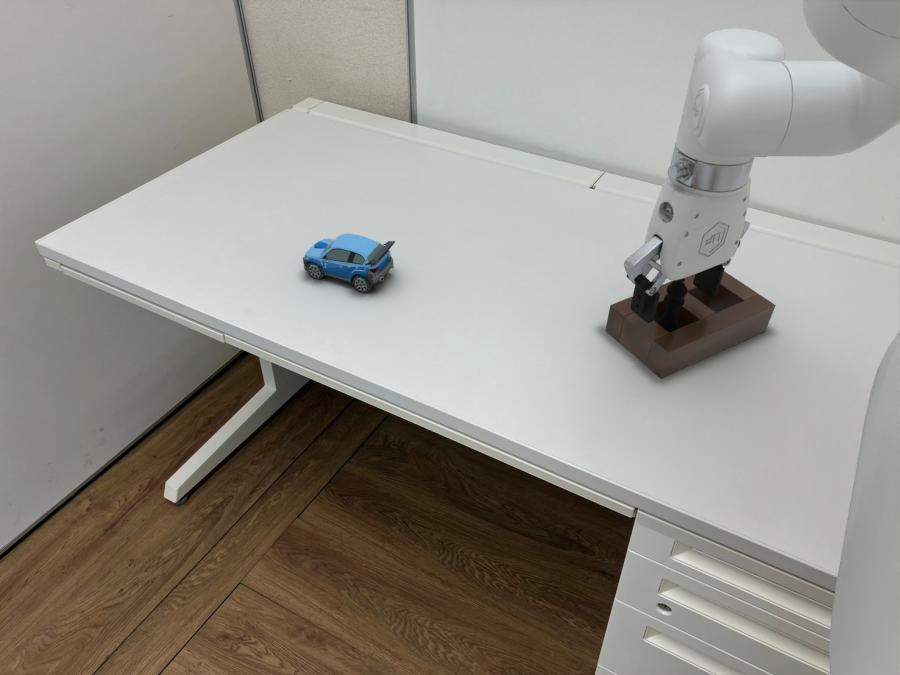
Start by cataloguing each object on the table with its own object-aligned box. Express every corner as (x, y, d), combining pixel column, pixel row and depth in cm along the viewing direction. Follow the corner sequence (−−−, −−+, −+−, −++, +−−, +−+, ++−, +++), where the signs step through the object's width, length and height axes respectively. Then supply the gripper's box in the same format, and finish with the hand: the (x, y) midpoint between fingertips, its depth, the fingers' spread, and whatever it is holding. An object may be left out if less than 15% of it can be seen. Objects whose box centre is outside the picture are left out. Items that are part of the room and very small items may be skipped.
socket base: (765, 330, 86) (775, 305, 83) (661, 379, 79) (668, 352, 77) (706, 289, 92) (714, 264, 90) (605, 330, 86) (610, 304, 83)
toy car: (322, 253, 98) (317, 218, 94) (399, 273, 94) (397, 237, 91) (299, 275, 94) (293, 239, 90) (378, 297, 90) (376, 261, 87)
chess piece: (674, 327, 86) (693, 260, 80) (687, 351, 83) (708, 283, 76) (639, 330, 86) (655, 262, 79) (651, 354, 82) (669, 285, 76)
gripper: (672, 203, 64) (638, 346, 75) (800, 161, 70) (751, 297, 81) (617, 170, 69) (593, 308, 80) (742, 133, 75) (704, 265, 86)
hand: (673, 302), depth 81 cm, fingers open, 9 cm apart
